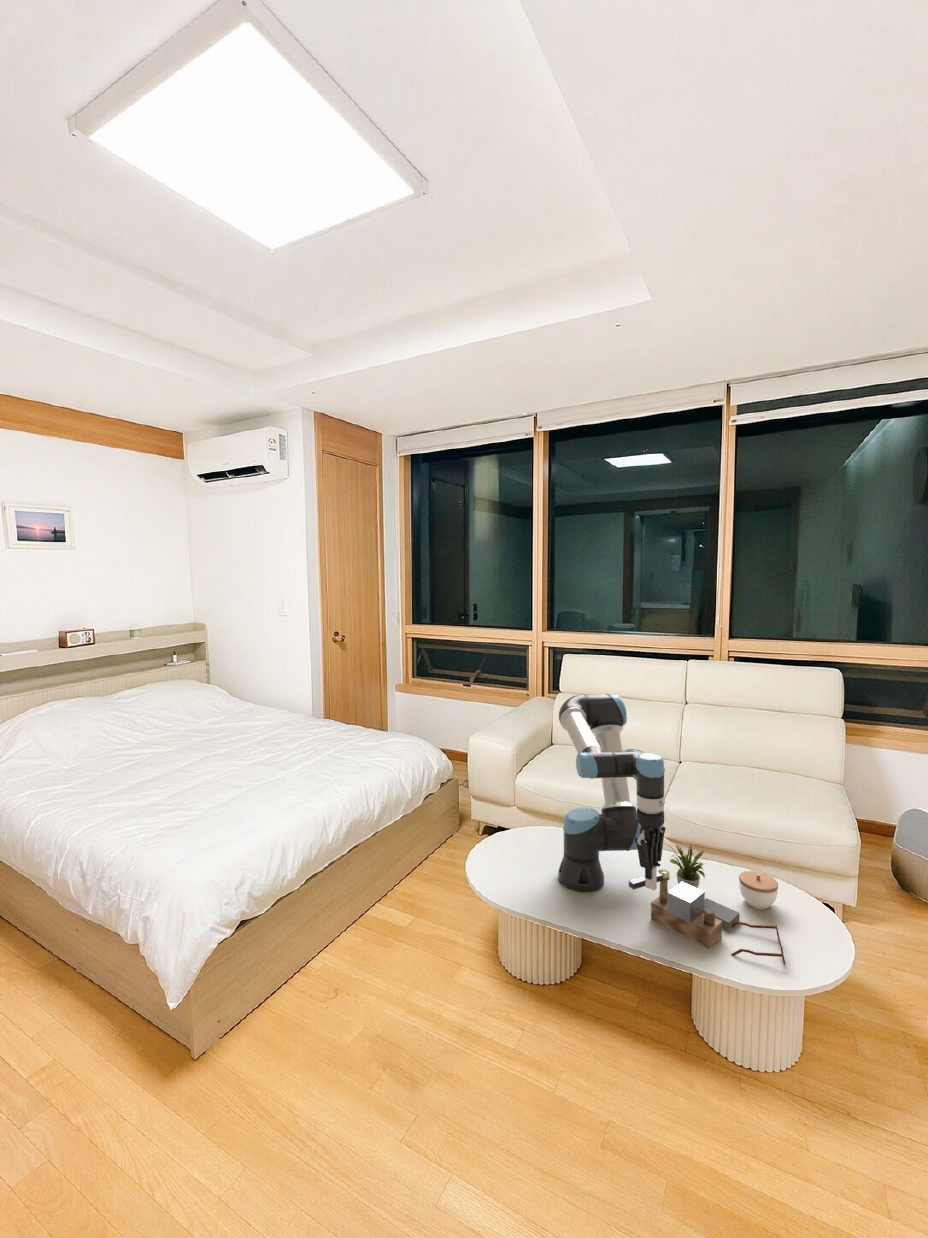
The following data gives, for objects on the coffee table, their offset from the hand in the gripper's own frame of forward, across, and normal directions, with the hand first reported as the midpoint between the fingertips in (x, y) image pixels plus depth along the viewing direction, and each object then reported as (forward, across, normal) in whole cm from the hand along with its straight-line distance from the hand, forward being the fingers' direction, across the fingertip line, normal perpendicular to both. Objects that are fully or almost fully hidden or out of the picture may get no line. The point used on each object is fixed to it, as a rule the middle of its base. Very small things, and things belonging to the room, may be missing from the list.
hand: (650, 887), depth 160 cm
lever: (0, +3, +2) cm, 3 cm away
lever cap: (+8, +8, -6) cm, 13 cm away
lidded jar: (+13, +36, -16) cm, 41 cm away
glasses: (+14, +14, -23) cm, 31 cm away
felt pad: (+13, +19, -11) cm, 25 cm away
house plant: (+13, +24, +2) cm, 27 cm away
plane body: (+13, +8, -6) cm, 16 cm away
